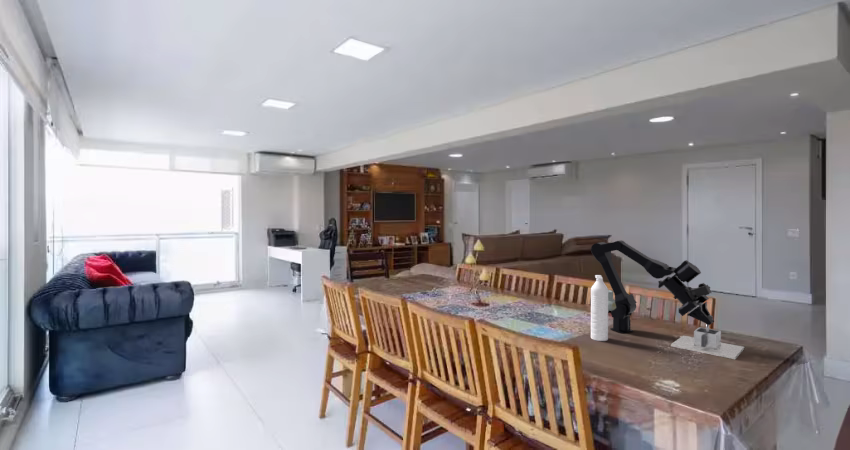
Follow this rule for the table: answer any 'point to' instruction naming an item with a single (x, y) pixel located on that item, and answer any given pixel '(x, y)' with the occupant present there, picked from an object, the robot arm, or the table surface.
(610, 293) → the air freshener
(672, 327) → the table surface
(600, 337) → the water bottle
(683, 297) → the robot arm
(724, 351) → the white socket holder tray
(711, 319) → the plunger
